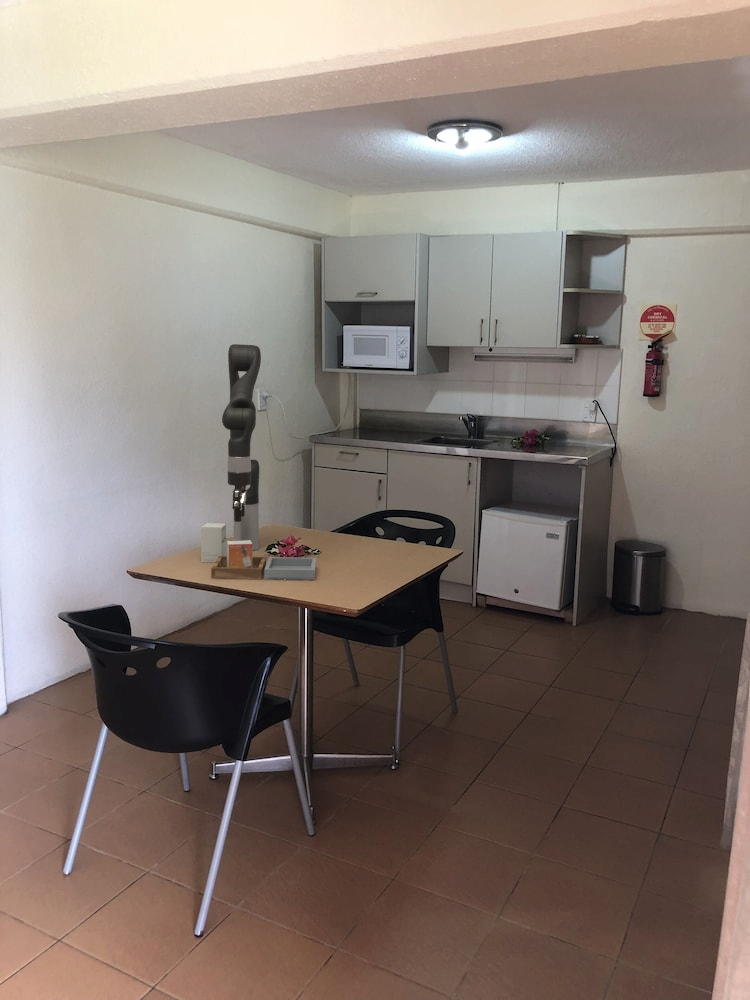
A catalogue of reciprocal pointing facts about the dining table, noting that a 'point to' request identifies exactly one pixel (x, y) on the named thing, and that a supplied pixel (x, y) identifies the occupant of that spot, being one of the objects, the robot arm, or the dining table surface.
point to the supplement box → (213, 541)
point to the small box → (239, 554)
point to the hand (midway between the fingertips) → (239, 518)
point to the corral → (238, 569)
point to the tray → (290, 568)
